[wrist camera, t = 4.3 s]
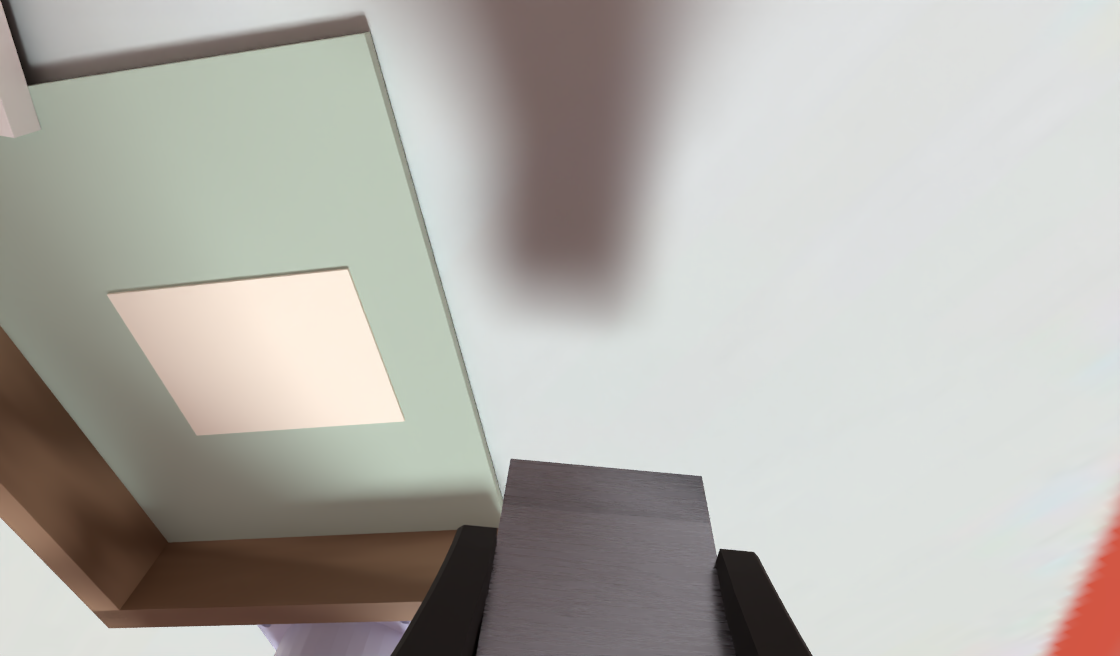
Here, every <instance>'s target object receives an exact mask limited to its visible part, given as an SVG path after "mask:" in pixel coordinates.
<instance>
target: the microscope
mask: <svg viewBox="0 0 1120 656" xmlns="http://www.w3.org/2000/svg"><path fill="white" fill-rule="evenodd" d="M39 130H41V127H40V124H39V121H38V118H37V115H36V111H35V108H34V105H33V102H32V99H31V96H30V92H29V89H28V86H27V83H26V80H25V77H24V73H23V70H22V67H21V64H20V61H19V58H18V54H17V51H16V48H15V45H14V42H13V39H12V35H11V32H10V29H9V26H8V23H7V20H6V16H5V13H4V10H3V7H2V4H1V1H0V136H5V137H11V138H16V137H19V136H23V135H26V134H29V133H32V132H35V131H39Z"/></svg>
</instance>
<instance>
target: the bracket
mask: <svg viewBox="0 0 1120 656" xmlns="http://www.w3.org/2000/svg"><path fill="white" fill-rule="evenodd" d="M716 559H717V555H716V549H715V544H714V539H713V534H712V528H711V523H710V518H709V513H708V507H707V502H706V497H705V492H704V486H703V481H702V476H692V475H681V474H671V473H660V472H649V471H638V470H627V469H617V468H606V467H595V466H584V465H573V464H562V463H552V462H541V461H530V460H519V459H511V460H510V466H509V471H508V477H507V483H506V488H505V494H504V500H503V505H502V511H501V517H500V523H499V528H498V534H497V544H496V549H495V555H494V561H493V567H492V572H491V578H490V584H489V590H488V595H487V598H486V602H485V608H484V614H483V619H482V625H481V631H480V636H479V642H478V648H477V653H476V656H736V655H735V649H734V645H733V641H732V638H731V634H730V630H729V627H728V623H727V620H726V616H725V611H724V606H723V600H722V595H721V590H720V584H719V579H718V574H717V568H716V563H715V562H716Z"/></svg>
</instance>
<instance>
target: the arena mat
mask: <svg viewBox="0 0 1120 656" xmlns="http://www.w3.org/2000/svg"><path fill="white" fill-rule="evenodd" d="M27 86H28V89H29V92H30V96H31V99H32V102H33V105H34V108H35V111H36V115H37V118H38V121H39V124H40V127H41V130H39V131H35V132H32V133H29V134H26V135H23V136H19V137H16V138H11V137H5V136H0V326H1V327H2V328H3V330H4V331H5V332H6V334H7V335H8V336H9V338H10V339H11V340H12V341H13V343H14V344H15V345H16V347H17V348H18V349H19V350H20V352H21V353H22V354H23V356H24V357H25V358H26V359H27V361H28V362H29V363H30V365H31V366H32V367H33V368H34V370H35V371H36V372H37V374H38V375H39V376H40V377H41V379H42V380H43V381H44V383H45V384H46V385H47V387H48V388H49V389H50V390H51V392H52V393H53V394H54V396H55V397H56V398H57V399H58V401H59V402H60V403H61V405H62V406H63V407H64V408H65V410H66V411H67V412H68V414H69V415H70V416H71V417H72V419H73V420H74V421H75V423H76V424H77V425H78V426H79V428H80V429H81V430H82V432H83V433H84V434H85V435H86V437H87V438H88V439H89V441H90V442H91V443H92V445H93V446H94V447H95V448H96V450H97V451H98V452H99V454H100V455H101V456H102V457H103V459H104V460H105V461H106V463H107V464H108V465H109V466H110V468H111V469H112V470H113V472H114V473H115V474H116V475H117V477H118V478H119V479H120V481H121V482H122V483H123V484H124V486H125V487H126V488H127V490H128V491H129V492H130V493H131V495H132V496H133V497H134V499H135V500H136V501H137V503H138V504H139V505H140V506H141V508H142V509H143V510H144V512H145V513H146V514H147V515H148V517H149V518H150V519H151V521H152V522H153V523H154V524H155V526H156V527H157V528H158V530H159V531H160V532H161V533H162V535H163V536H164V537H165V539H166V540H167V541H168V542H191V541H213V540H236V539H259V538H282V537H304V536H327V535H350V534H373V533H395V532H418V531H441V530H457V529H458V528H459V527H461V526H462V525H472V526H483V527H494V528H499V523H500V517H501V511H502V505H503V500H502V496H501V493H500V489H499V486H498V482H497V478H496V475H495V471H494V468H493V464H492V461H491V457H490V454H489V450H488V447H487V443H486V440H485V436H484V433H483V429H482V426H481V422H480V419H479V415H478V411H477V408H476V404H475V401H474V397H473V394H472V390H471V387H470V383H469V380H468V376H467V373H466V369H465V366H464V362H463V359H462V355H461V352H460V348H459V344H458V341H457V337H456V334H455V330H454V327H453V323H452V320H451V316H450V313H449V309H448V306H447V302H446V299H445V295H444V292H443V288H442V285H441V281H440V277H439V274H438V270H437V267H436V263H435V260H434V256H433V253H432V249H431V246H430V242H429V239H428V235H427V232H426V228H425V225H424V221H423V217H422V214H421V210H420V207H419V203H418V200H417V196H416V193H415V189H414V186H413V182H412V179H411V175H410V172H409V168H408V165H407V161H406V158H405V154H404V150H403V147H402V143H401V140H400V136H399V133H398V129H397V126H396V122H395V119H394V115H393V112H392V108H391V105H390V101H389V98H388V94H387V91H386V87H385V83H384V80H383V76H382V73H381V69H380V66H379V62H378V59H377V55H376V52H375V48H374V45H373V41H372V38H371V34H370V32H364V33H358V34H351V35H345V36H339V37H332V38H326V39H320V40H313V41H307V42H300V43H294V44H288V45H281V46H275V47H269V48H262V49H256V50H249V51H243V52H237V53H230V54H224V55H218V56H211V57H205V58H199V59H192V60H186V61H179V62H173V63H167V64H160V65H154V66H148V67H141V68H135V69H128V70H122V71H116V72H109V73H103V74H97V75H90V76H84V77H77V78H71V79H65V80H58V81H52V82H46V83H39V84H33V85H27Z"/></svg>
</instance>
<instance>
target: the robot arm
mask: <svg viewBox="0 0 1120 656" xmlns="http://www.w3.org/2000/svg"><path fill="white" fill-rule="evenodd" d="M496 544H497V528H494V527H483V526H472V525H462V526H461V527H459V528H458V529H457V531H456V534H455V536H454V539H453V542H452V544H451V546H450V548H449V551H448V553H447V555H446V557H445V559H444V561H443V563H442V565H441V567H440V569H439V571H438V573H437V575H436V577H435V579H434V581H433V583H432V585H431V587H430V589H429V591H428V592H427V594H426V596H425V598H424V600H423V602H422V603H421V605H420V607H419V608H418V610H417V612H416V614H415V615H414V617H413V619H412V621H386V622H345V623H303V624H262V625H258V627H259V628H260V629H261V631H262V632H263V633H264V635H265V636H266V637H267V639H268V640H269V642H270V643H271V644H272V646H273V647H274V648H275V650H276V653H275V655H274V656H476V653H477V648H478V642H479V636H480V631H481V625H482V619H483V614H484V608H485V602H486V598H487V595H488V590H489V584H490V578H491V572H492V567H493V561H494V555H495V549H496ZM715 563H716V568H717V574H718V579H719V584H720V590H721V595H722V600H723V606H724V611H725V616H726V620H727V623H728V627H729V630H730V634H731V638H732V641H733V645H734V649H735V655H736V656H812V654H811V652H810V651H809V649H808V647H807V645H806V644H805V642H804V640H803V639H802V637H801V635H800V633H799V632H798V630H797V628H796V626H795V625H794V623H793V621H792V619H791V617H790V616H789V614H788V612H787V610H786V609H785V607H784V605H783V603H782V601H781V599H780V598H779V596H778V594H777V592H776V590H775V588H774V586H773V585H772V583H771V581H770V579H769V577H768V575H767V573H766V571H765V569H764V567H763V565H762V563H761V561H760V559H759V558H758V556H757V555H756V554H755V553H754V552H748V551H737V550H726V549H720V551H719V554H718V556H717V559H716V562H715Z"/></svg>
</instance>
